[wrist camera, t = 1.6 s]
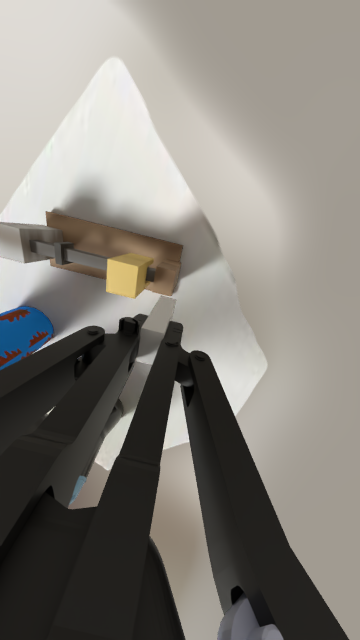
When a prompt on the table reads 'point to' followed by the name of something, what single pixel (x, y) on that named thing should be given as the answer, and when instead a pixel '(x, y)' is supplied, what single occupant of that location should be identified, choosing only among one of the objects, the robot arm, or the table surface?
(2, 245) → the rod stand
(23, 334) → the thermos
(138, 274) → the sleeve
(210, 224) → the table surface
